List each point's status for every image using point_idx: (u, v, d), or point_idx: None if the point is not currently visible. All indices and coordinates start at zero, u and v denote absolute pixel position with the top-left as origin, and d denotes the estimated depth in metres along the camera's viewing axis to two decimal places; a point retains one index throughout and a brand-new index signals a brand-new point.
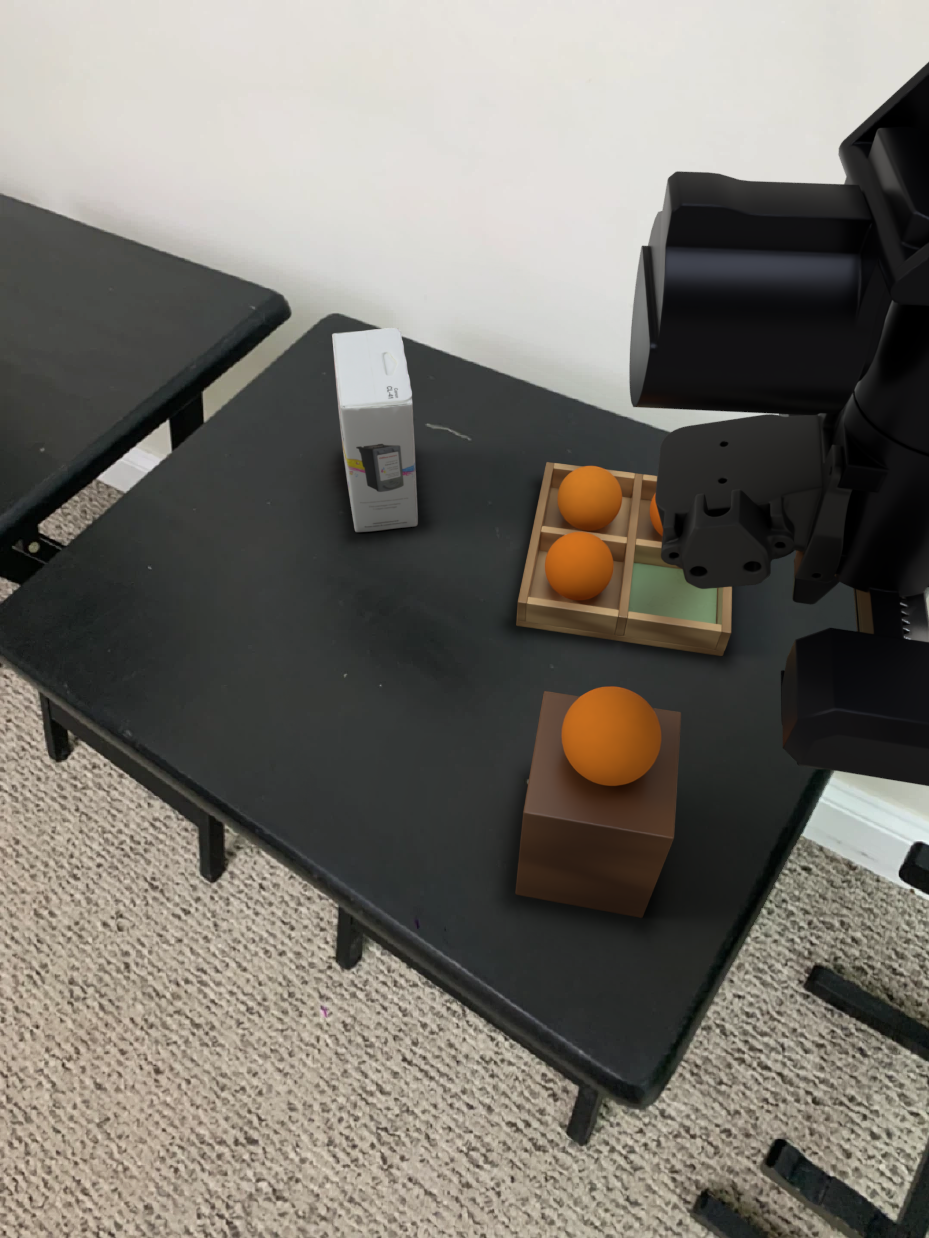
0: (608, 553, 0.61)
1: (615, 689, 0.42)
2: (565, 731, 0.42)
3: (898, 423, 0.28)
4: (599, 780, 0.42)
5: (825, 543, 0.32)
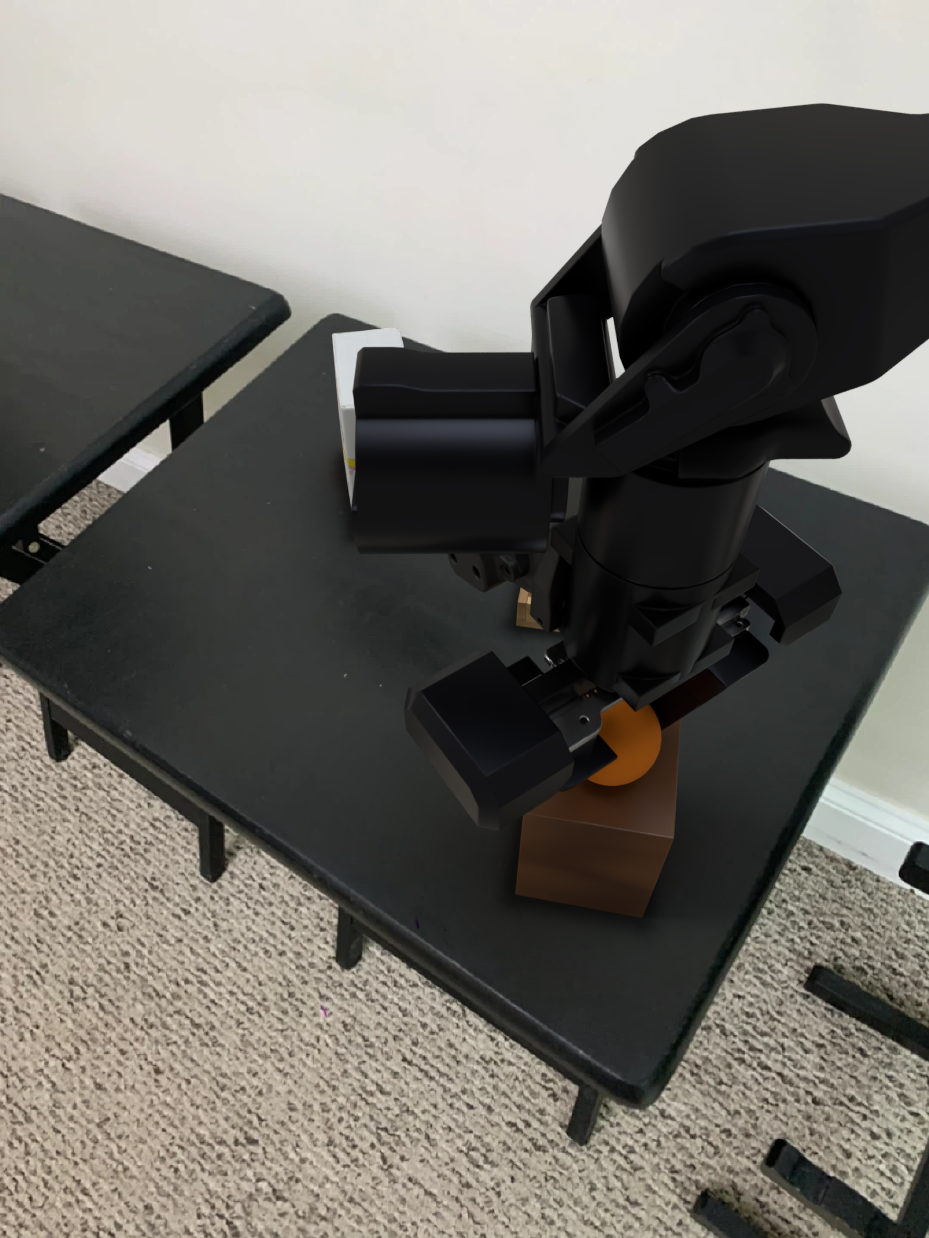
0: None
1: None
2: None
3: (606, 555, 0.30)
4: (599, 780, 0.42)
5: (539, 591, 0.36)
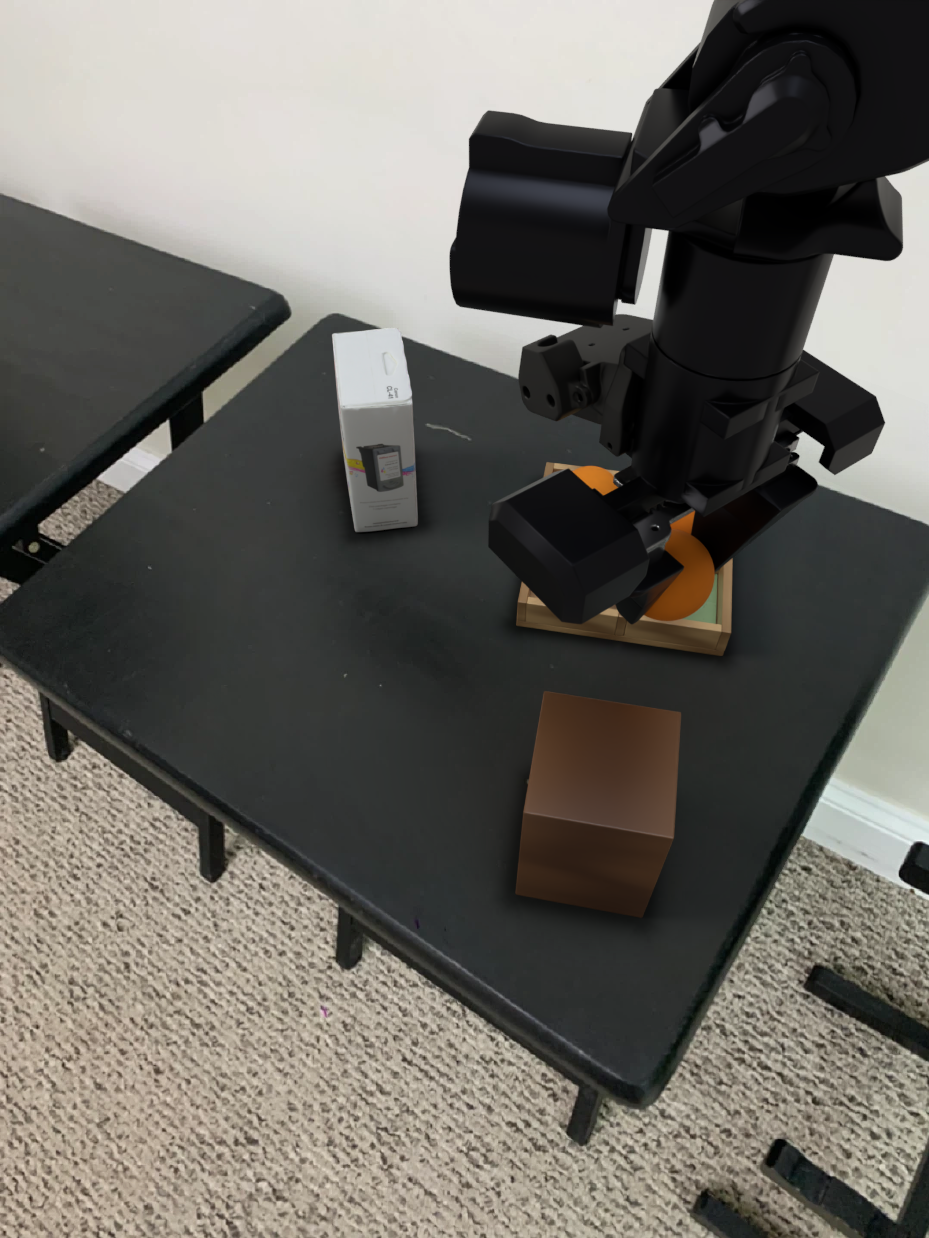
0: None
1: None
2: None
3: (668, 341, 0.34)
4: (658, 613, 0.45)
5: (611, 413, 0.39)
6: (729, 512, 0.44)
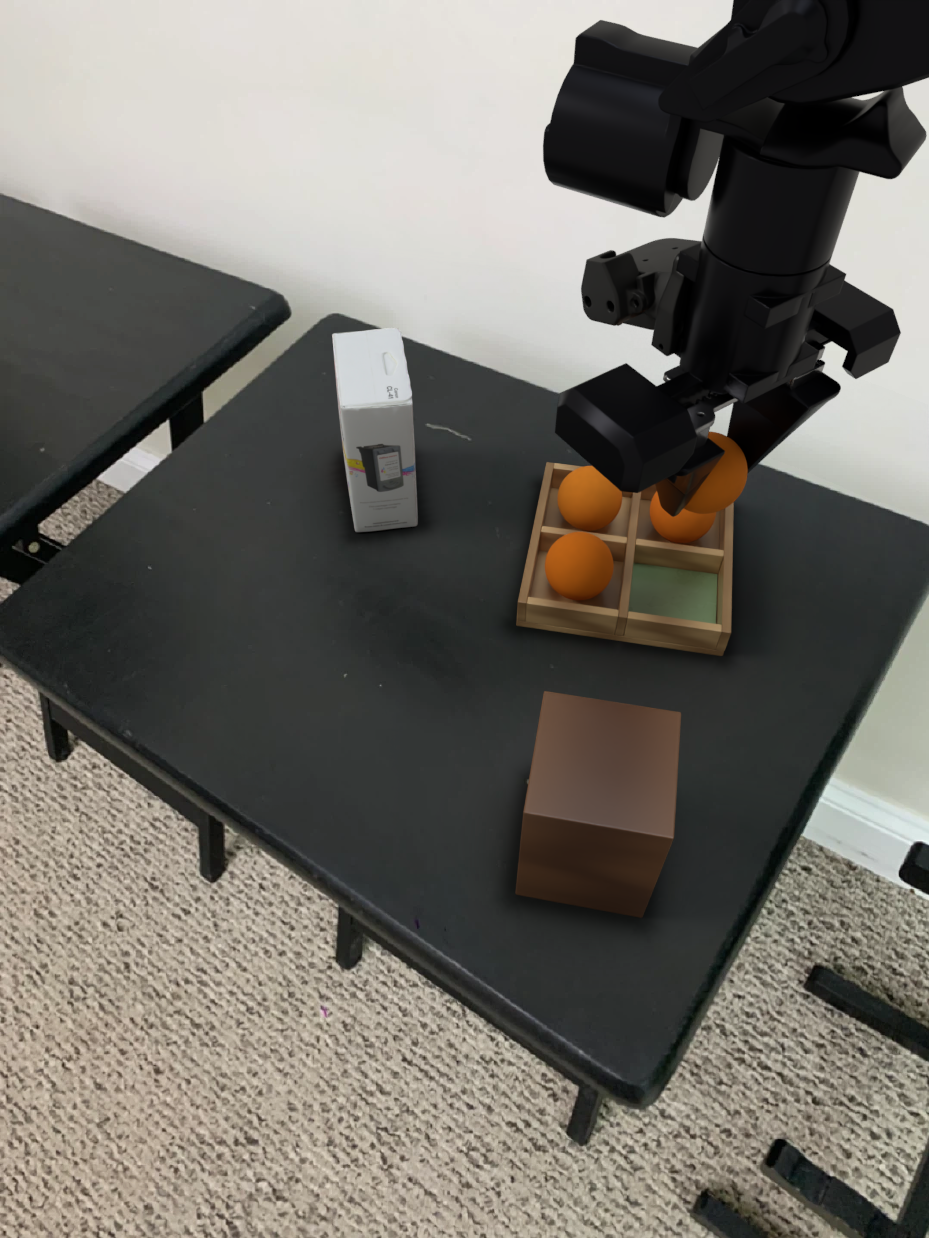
0: (608, 553, 0.61)
1: None
2: None
3: (709, 233, 0.41)
4: (697, 504, 0.51)
5: (664, 315, 0.45)
6: (761, 414, 0.50)
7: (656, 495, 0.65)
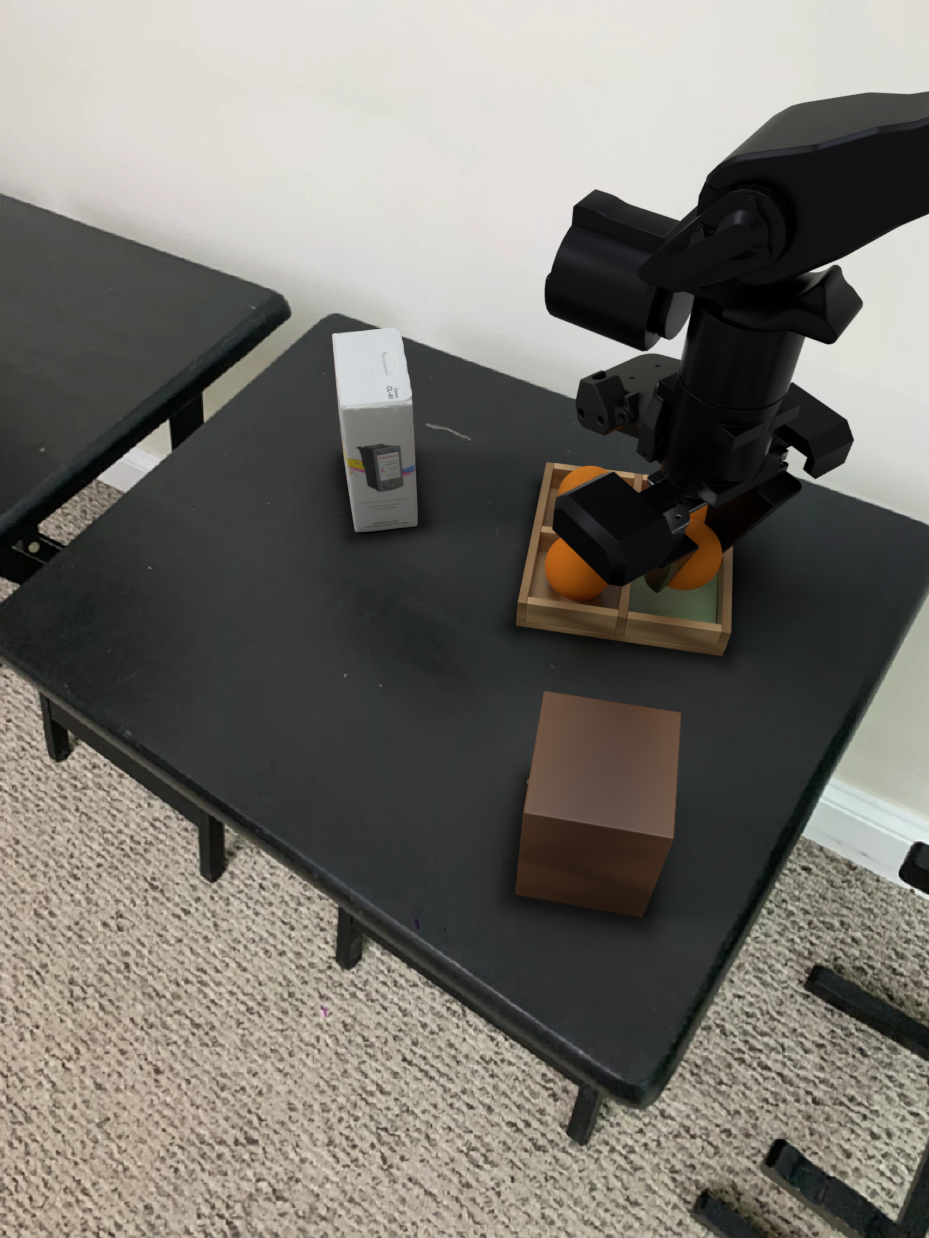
0: None
1: None
2: None
3: (683, 370, 0.48)
4: (677, 583, 0.58)
5: (646, 430, 0.52)
6: (734, 507, 0.57)
7: None
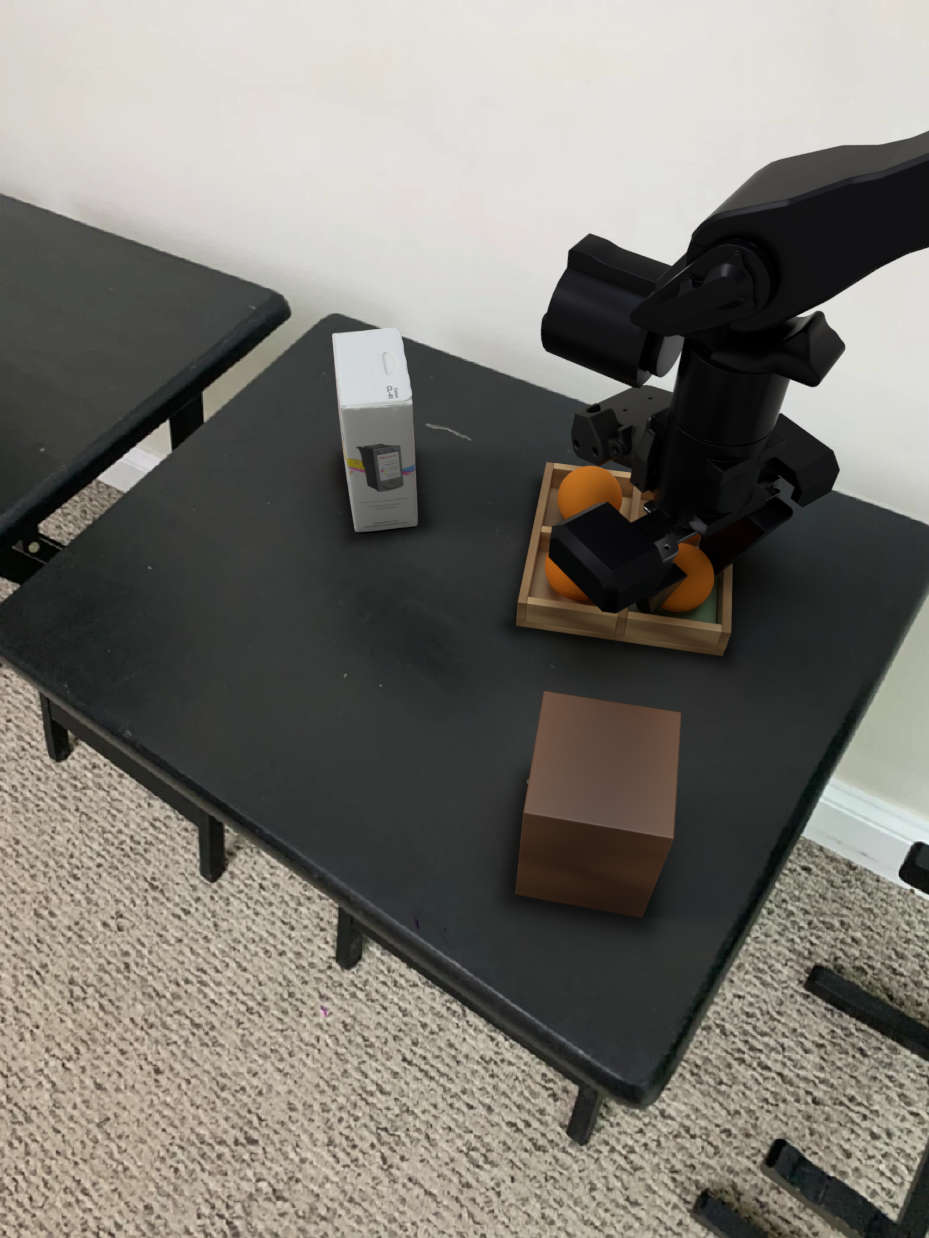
0: None
1: (681, 543, 0.61)
2: None
3: (674, 407, 0.50)
4: (671, 605, 0.60)
5: (639, 462, 0.54)
6: (727, 531, 0.59)
7: None
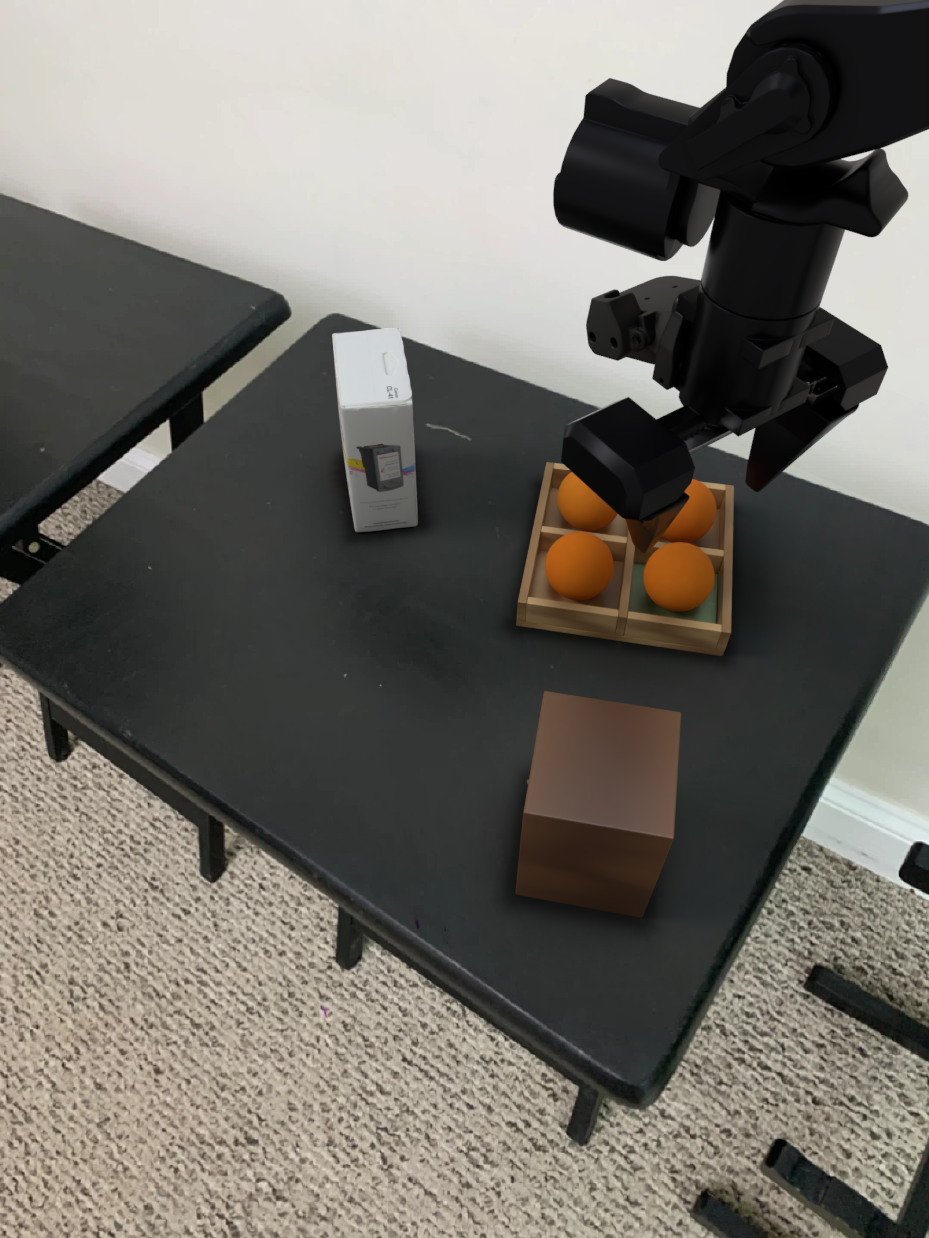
0: (608, 553, 0.61)
1: (682, 542, 0.61)
2: (647, 571, 0.61)
3: (706, 278, 0.43)
4: (672, 604, 0.60)
5: (664, 352, 0.48)
6: (784, 428, 0.54)
7: None
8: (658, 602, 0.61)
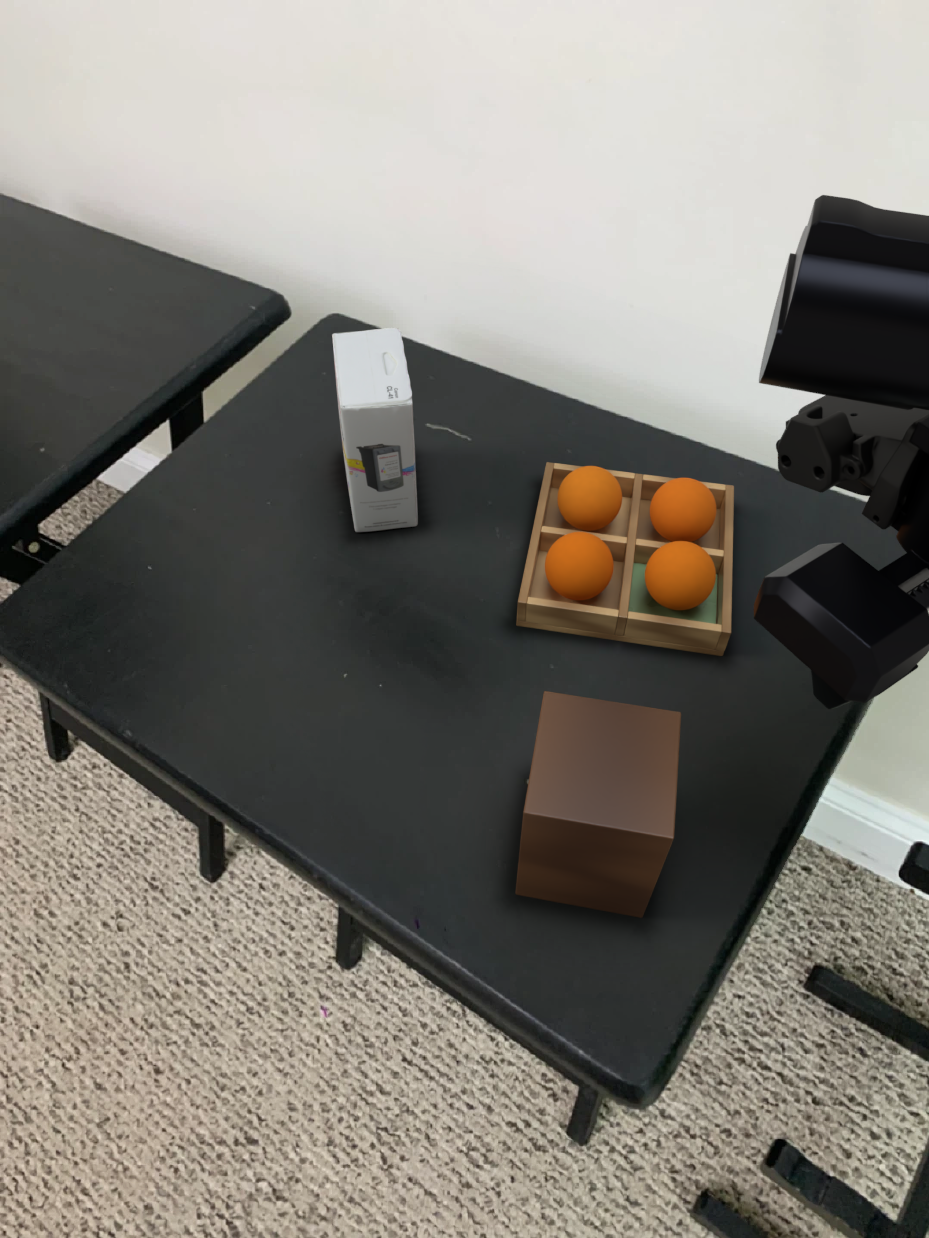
0: (608, 553, 0.61)
1: (684, 541, 0.61)
2: (649, 568, 0.61)
3: None
4: (673, 601, 0.60)
5: (886, 487, 0.39)
6: None
7: (656, 495, 0.65)
8: (659, 600, 0.61)
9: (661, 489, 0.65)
